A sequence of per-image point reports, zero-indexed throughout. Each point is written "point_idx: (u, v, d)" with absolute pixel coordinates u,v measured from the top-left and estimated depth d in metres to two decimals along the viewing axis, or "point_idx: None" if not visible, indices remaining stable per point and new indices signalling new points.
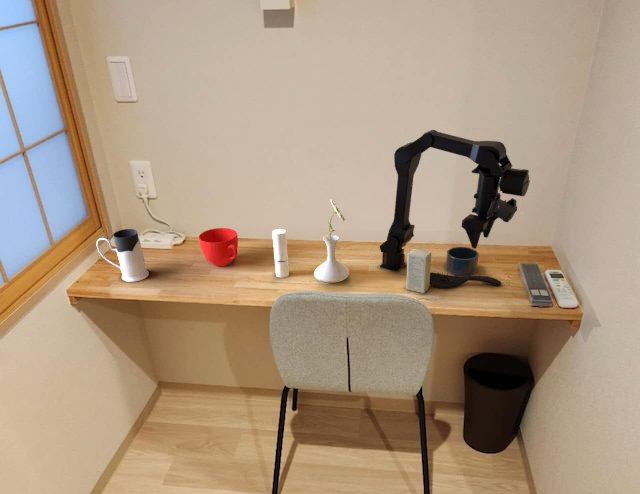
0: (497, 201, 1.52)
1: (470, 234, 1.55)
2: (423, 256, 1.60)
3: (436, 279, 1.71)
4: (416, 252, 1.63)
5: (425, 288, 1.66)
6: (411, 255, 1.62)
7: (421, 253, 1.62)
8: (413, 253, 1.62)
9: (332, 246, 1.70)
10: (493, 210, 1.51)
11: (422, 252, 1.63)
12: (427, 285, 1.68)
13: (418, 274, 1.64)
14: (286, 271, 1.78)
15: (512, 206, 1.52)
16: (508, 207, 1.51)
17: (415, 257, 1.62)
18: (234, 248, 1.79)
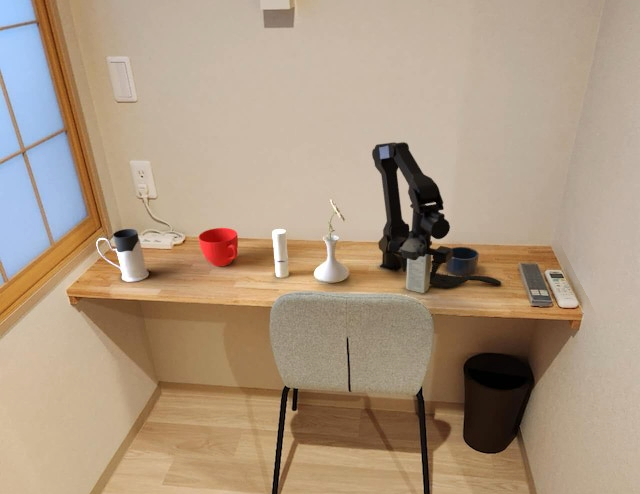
0: (414, 238, 1.58)
1: None
2: None
3: (436, 279, 1.71)
4: None
5: (425, 288, 1.66)
6: None
7: None
8: None
9: (332, 246, 1.70)
10: None
11: None
12: (427, 285, 1.68)
13: (418, 274, 1.64)
14: (286, 271, 1.78)
15: (414, 248, 1.55)
16: (410, 246, 1.56)
17: None
18: (234, 248, 1.79)
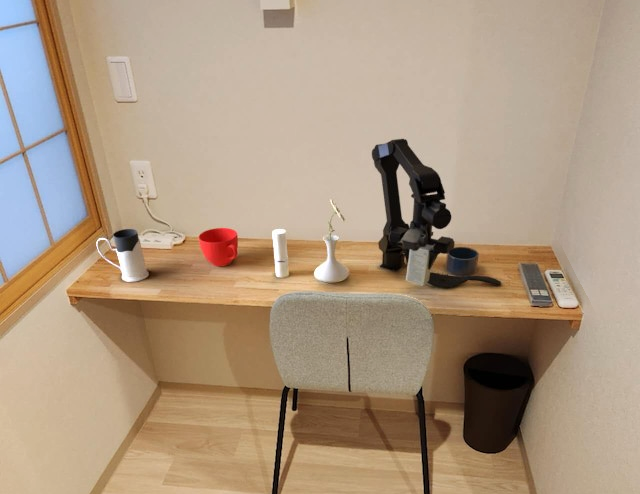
0: (415, 228, 1.56)
1: None
2: (426, 249, 1.59)
3: (436, 279, 1.71)
4: None
5: (424, 281, 1.65)
6: None
7: None
8: None
9: (332, 246, 1.70)
10: None
11: None
12: (427, 278, 1.66)
13: (420, 267, 1.63)
14: (286, 271, 1.78)
15: (416, 239, 1.53)
16: (411, 236, 1.54)
17: (417, 250, 1.60)
18: (234, 248, 1.79)
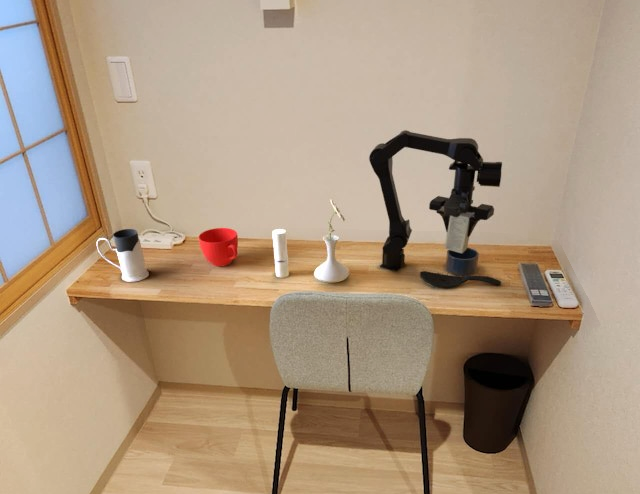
0: (457, 195, 1.61)
1: None
2: (466, 217, 1.64)
3: (436, 279, 1.71)
4: None
5: (463, 249, 1.70)
6: None
7: (465, 214, 1.66)
8: None
9: (332, 246, 1.70)
10: None
11: None
12: (466, 246, 1.72)
13: (459, 234, 1.68)
14: (286, 271, 1.78)
15: (457, 205, 1.59)
16: (452, 203, 1.60)
17: (458, 217, 1.66)
18: (234, 248, 1.79)
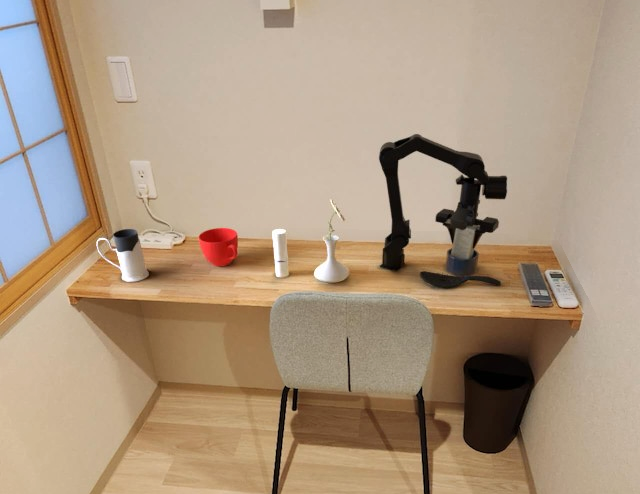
0: (463, 209, 1.66)
1: None
2: (472, 229, 1.69)
3: (436, 279, 1.71)
4: None
5: None
6: None
7: (470, 226, 1.70)
8: None
9: (332, 246, 1.70)
10: None
11: None
12: (471, 257, 1.77)
13: (465, 246, 1.73)
14: (286, 271, 1.78)
15: (464, 218, 1.63)
16: (459, 216, 1.65)
17: None
18: (234, 248, 1.79)
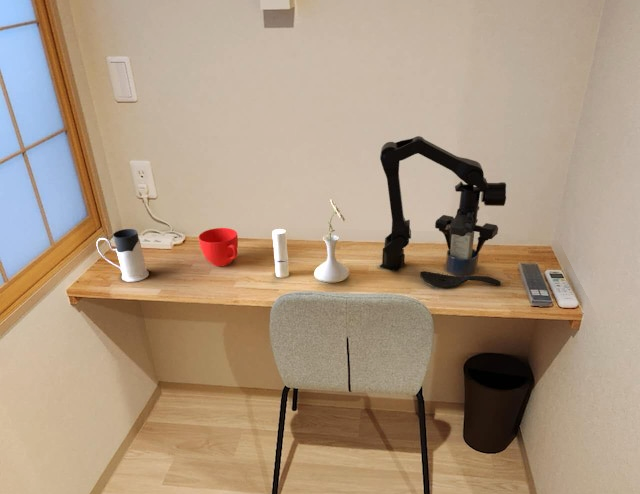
0: (462, 215, 1.67)
1: None
2: (467, 235, 1.71)
3: (436, 279, 1.71)
4: None
5: None
6: None
7: None
8: None
9: (332, 246, 1.70)
10: None
11: None
12: None
13: (462, 252, 1.75)
14: (286, 271, 1.78)
15: (463, 225, 1.65)
16: (458, 223, 1.66)
17: (459, 236, 1.72)
18: (234, 248, 1.79)
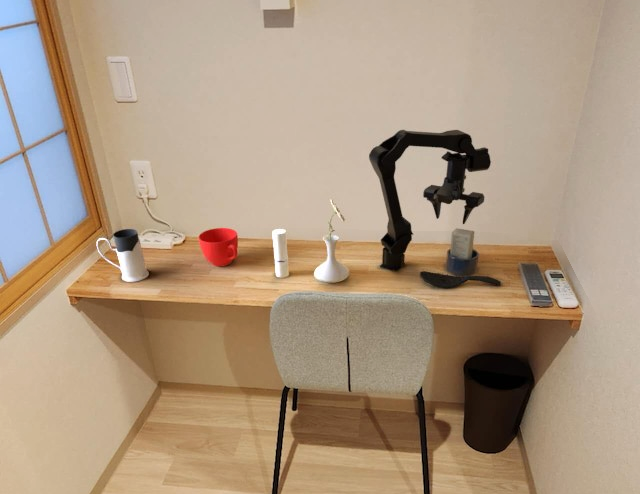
0: (449, 184, 1.71)
1: None
2: (467, 235, 1.71)
3: (436, 279, 1.71)
4: (460, 232, 1.73)
5: None
6: (455, 234, 1.73)
7: (465, 233, 1.72)
8: (457, 232, 1.73)
9: (332, 246, 1.70)
10: None
11: (465, 231, 1.73)
12: None
13: (462, 252, 1.75)
14: (286, 271, 1.78)
15: (449, 193, 1.68)
16: (445, 190, 1.69)
17: (459, 236, 1.72)
18: (234, 248, 1.79)
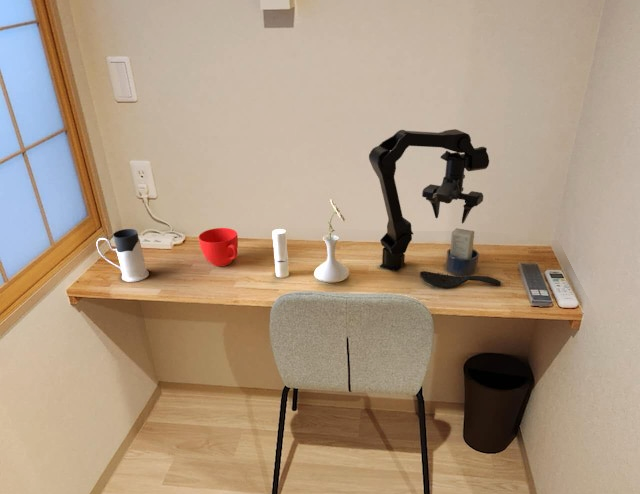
0: (448, 183, 1.71)
1: None
2: (467, 235, 1.71)
3: (436, 279, 1.71)
4: (460, 232, 1.73)
5: None
6: (455, 234, 1.73)
7: (465, 233, 1.72)
8: (457, 232, 1.73)
9: (332, 246, 1.70)
10: None
11: (465, 231, 1.73)
12: None
13: (462, 252, 1.75)
14: (286, 271, 1.78)
15: (449, 192, 1.69)
16: (444, 190, 1.70)
17: (459, 236, 1.72)
18: (234, 248, 1.79)
